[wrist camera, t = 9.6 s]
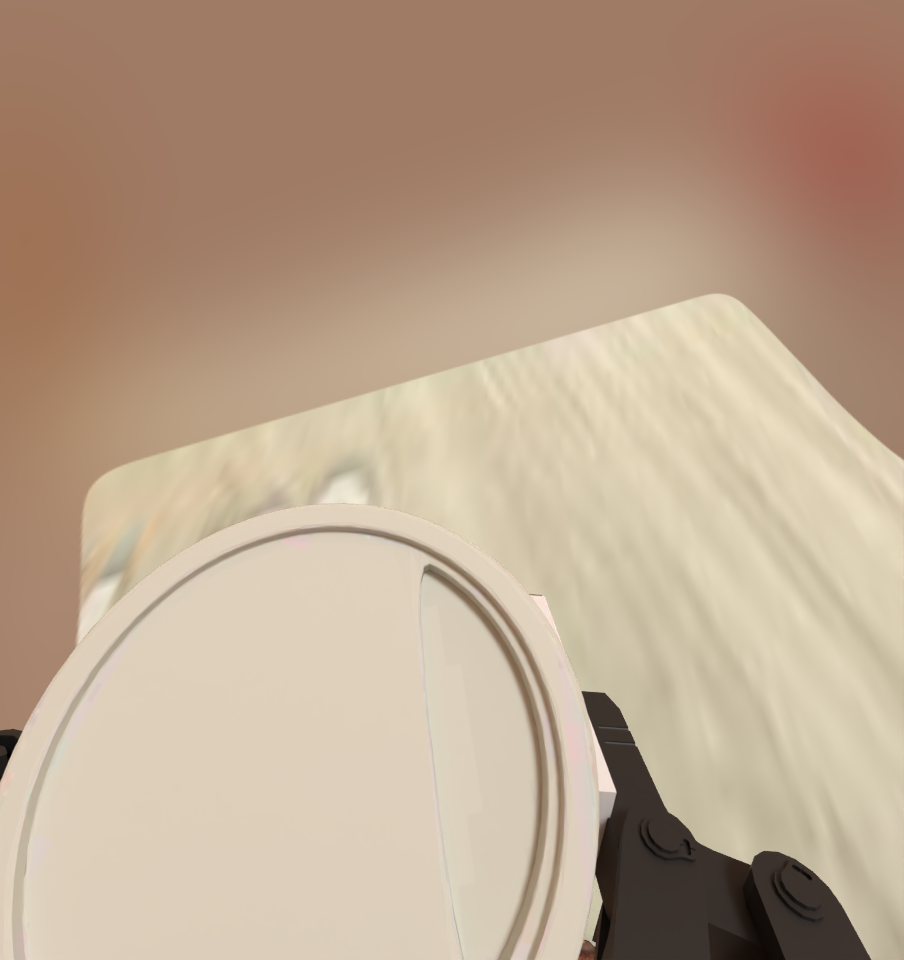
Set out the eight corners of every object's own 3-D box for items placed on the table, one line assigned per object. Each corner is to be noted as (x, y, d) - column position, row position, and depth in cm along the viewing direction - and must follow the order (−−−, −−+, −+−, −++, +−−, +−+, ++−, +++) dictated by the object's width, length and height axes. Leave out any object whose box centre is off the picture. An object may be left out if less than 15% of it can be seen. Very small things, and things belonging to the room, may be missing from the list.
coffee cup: (442, 937, 13) (505, 1774, 3) (215, 803, 15) (-321, 1041, 4) (530, 666, 17) (694, 598, 7) (344, 578, 19) (237, 405, 8)
